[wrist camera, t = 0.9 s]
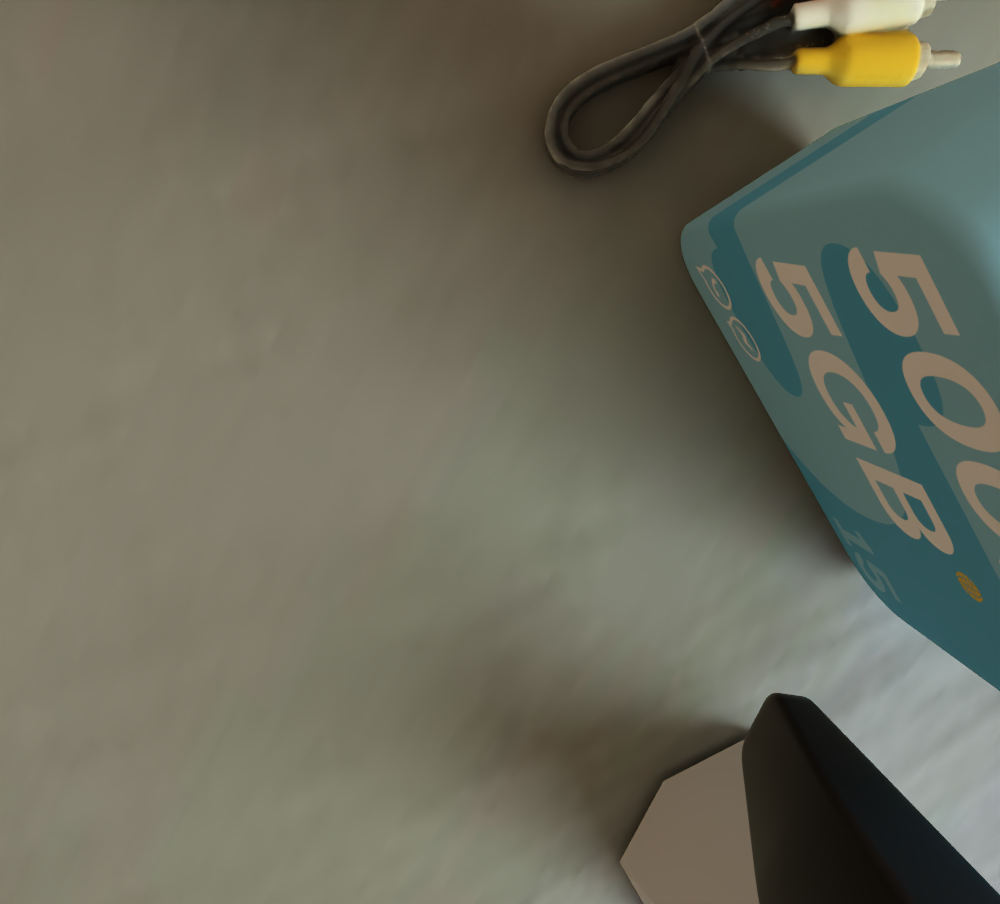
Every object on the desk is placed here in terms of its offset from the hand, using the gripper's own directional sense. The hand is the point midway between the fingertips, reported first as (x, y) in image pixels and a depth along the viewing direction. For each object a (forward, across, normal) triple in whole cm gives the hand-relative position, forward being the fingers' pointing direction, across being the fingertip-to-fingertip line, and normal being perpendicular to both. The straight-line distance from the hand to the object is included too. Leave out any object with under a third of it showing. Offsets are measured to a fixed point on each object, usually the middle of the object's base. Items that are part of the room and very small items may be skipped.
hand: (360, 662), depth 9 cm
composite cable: (+16, -6, -6) cm, 18 cm away
